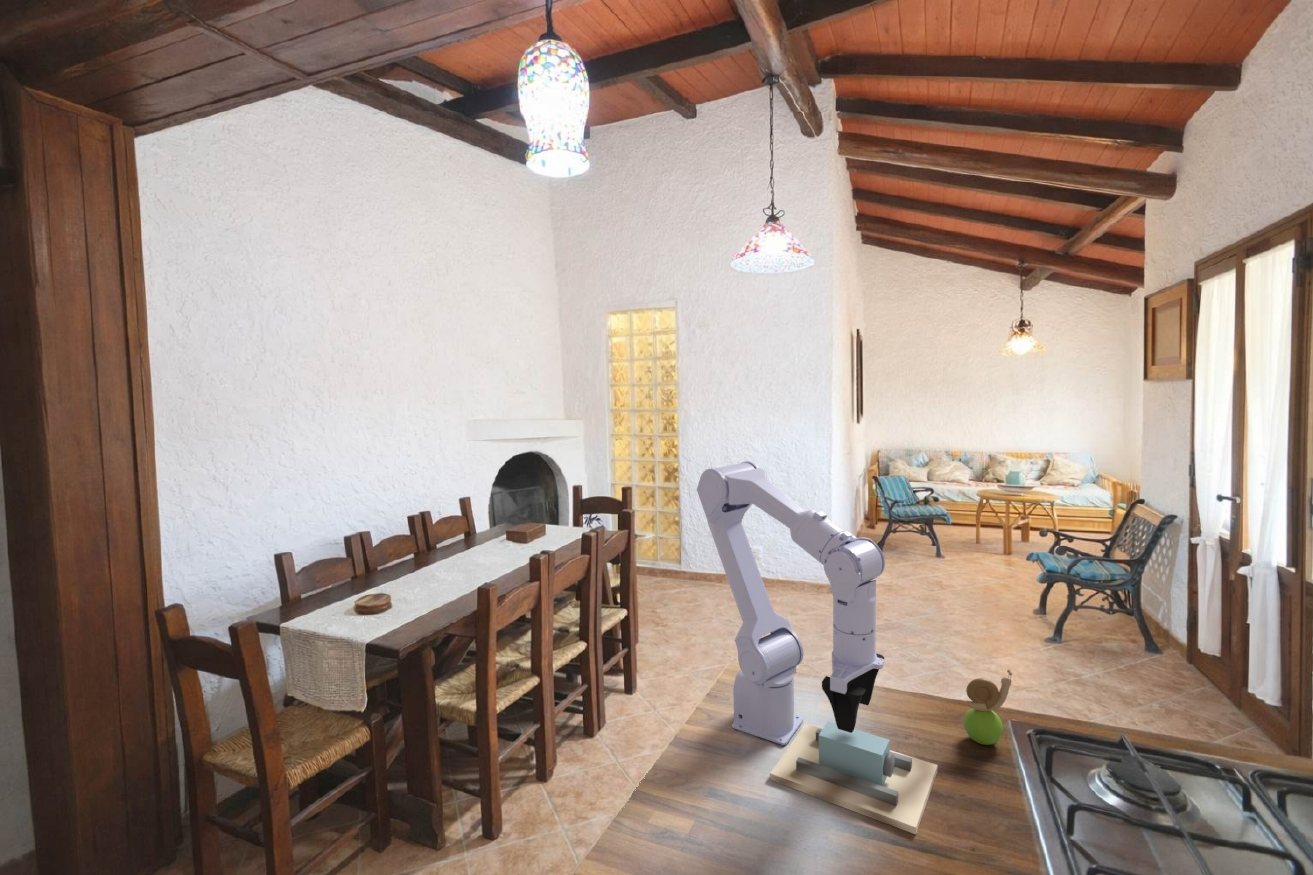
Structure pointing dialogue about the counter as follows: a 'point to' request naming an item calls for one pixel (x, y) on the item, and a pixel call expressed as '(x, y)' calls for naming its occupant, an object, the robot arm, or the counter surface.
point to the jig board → (858, 783)
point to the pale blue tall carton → (856, 753)
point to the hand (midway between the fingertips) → (853, 715)
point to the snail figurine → (985, 709)
